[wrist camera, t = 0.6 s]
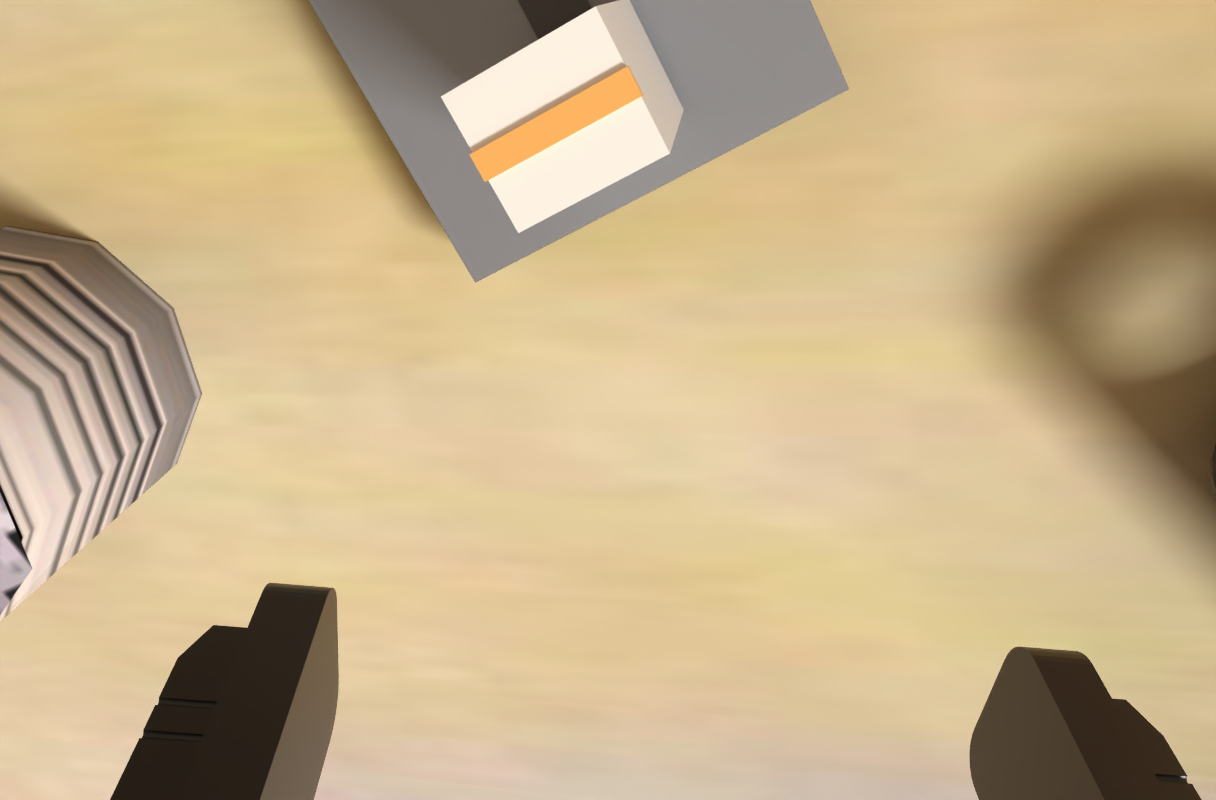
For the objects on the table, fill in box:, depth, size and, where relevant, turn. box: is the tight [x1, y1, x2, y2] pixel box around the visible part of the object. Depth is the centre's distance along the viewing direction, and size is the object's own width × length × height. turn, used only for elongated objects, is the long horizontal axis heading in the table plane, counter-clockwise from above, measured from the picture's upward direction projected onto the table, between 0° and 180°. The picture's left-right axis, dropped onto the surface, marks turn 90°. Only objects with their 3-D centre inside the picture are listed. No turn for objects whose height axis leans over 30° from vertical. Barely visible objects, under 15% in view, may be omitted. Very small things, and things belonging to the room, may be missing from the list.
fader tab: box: [441, 0, 684, 233], centre depth 27 cm, size 4×4×8 cm
